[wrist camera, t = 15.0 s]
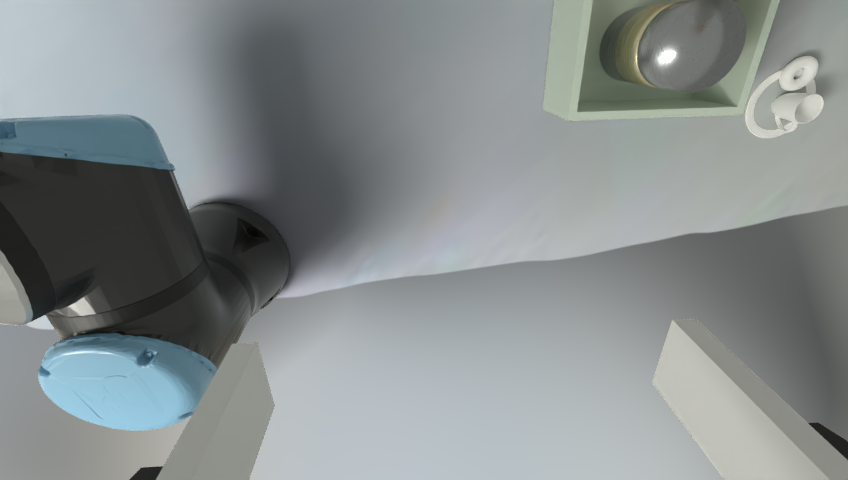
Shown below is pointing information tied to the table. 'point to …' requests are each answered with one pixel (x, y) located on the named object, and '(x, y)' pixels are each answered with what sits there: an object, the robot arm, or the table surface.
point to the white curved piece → (789, 98)
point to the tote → (611, 99)
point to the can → (675, 44)
